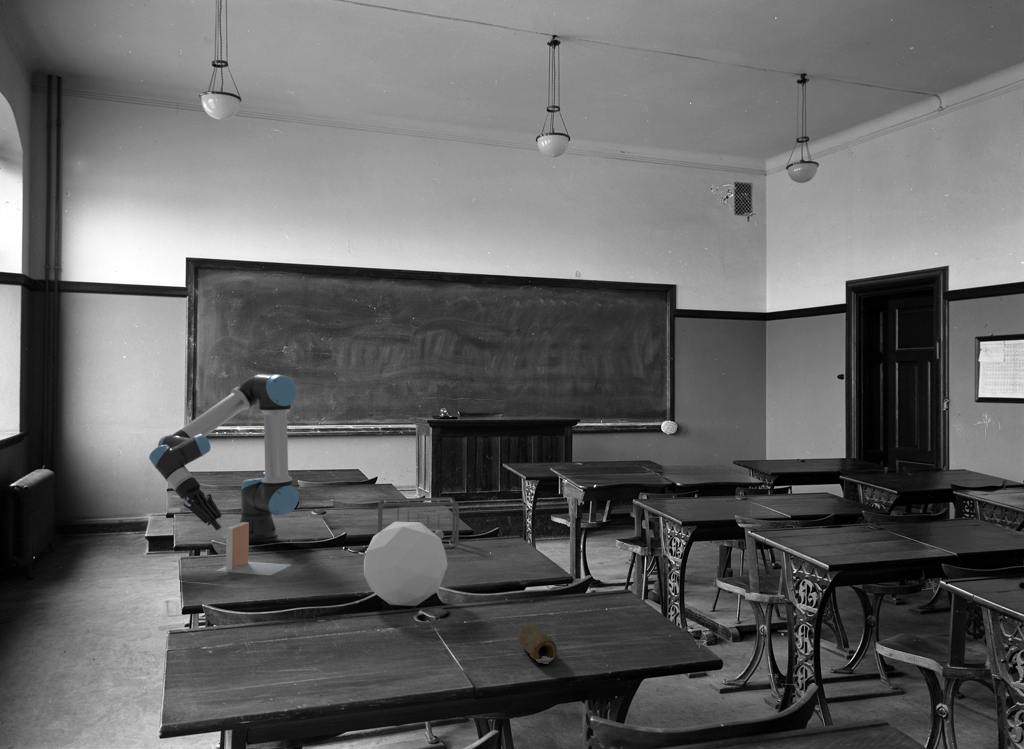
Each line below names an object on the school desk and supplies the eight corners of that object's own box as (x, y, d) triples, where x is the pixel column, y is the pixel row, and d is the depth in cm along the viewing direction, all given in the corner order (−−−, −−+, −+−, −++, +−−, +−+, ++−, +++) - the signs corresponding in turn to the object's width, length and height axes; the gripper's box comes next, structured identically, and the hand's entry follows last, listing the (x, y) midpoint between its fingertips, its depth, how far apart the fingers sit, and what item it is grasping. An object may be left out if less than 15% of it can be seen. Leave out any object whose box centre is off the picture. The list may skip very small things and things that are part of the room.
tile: (225, 569, 265) (226, 527, 265) (242, 562, 275) (242, 522, 274) (232, 570, 264) (233, 528, 264) (248, 563, 274) (249, 522, 274)
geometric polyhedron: (398, 624, 240) (410, 547, 255) (459, 610, 226) (468, 529, 241) (338, 599, 226) (354, 518, 241) (399, 582, 212) (412, 498, 227)
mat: (215, 571, 264) (215, 570, 264) (238, 561, 277) (238, 560, 277) (270, 576, 259) (270, 575, 259) (291, 566, 273) (291, 564, 273)
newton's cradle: (454, 542, 314) (455, 497, 314) (458, 548, 304) (459, 501, 303) (377, 544, 308) (378, 498, 307) (378, 550, 297) (379, 503, 297)
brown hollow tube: (562, 666, 187) (562, 637, 187) (534, 669, 185) (535, 640, 185) (538, 644, 201) (539, 618, 201) (512, 647, 199) (513, 620, 199)
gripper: (189, 488, 280) (230, 538, 277) (165, 494, 268) (208, 547, 264) (202, 473, 279) (244, 524, 276) (179, 479, 266) (223, 532, 263)
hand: (227, 535), depth 270 cm, fingers closed
